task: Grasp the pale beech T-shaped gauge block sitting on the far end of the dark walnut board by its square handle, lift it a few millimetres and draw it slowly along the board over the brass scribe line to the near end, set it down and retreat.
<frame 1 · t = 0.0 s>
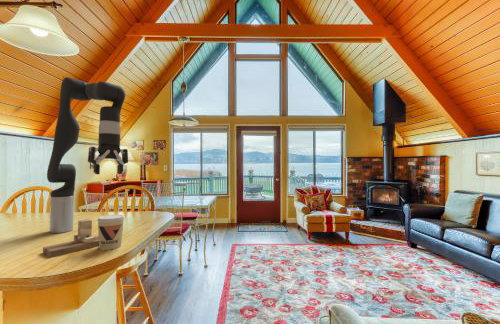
hand: (108, 174, 97), 29 cm above the table, fingers open, 8 cm apart
board: (78, 247, 97), on the table
gauge: (84, 239, 100), point 2 cm above the table, touching board
coffee cup: (110, 247, 98), on the table
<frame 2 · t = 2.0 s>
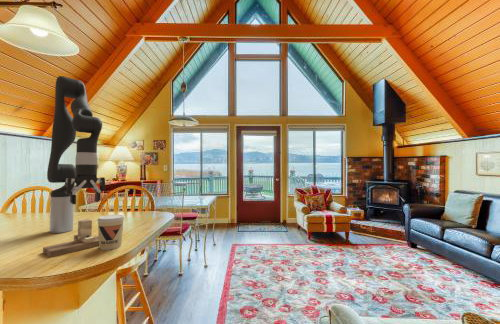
hand: (85, 202, 101), 17 cm above the table, fingers open, 8 cm apart
nothing on the table moved.
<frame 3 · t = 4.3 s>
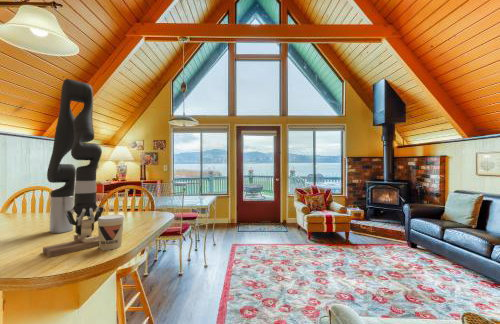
hand: (84, 233, 101), 5 cm above the table, fingers closed on gauge, 3 cm apart
gauge: (84, 239, 100), point 2 cm above the table, touching board, gripper
everything else where it was.
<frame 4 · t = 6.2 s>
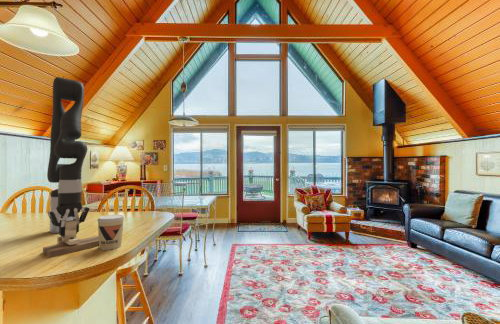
hand: (68, 234, 96), 5 cm above the table, fingers closed on gauge, 3 cm apart
gauge: (68, 241, 96), point 3 cm above the table, touching gripper
everything else where it was.
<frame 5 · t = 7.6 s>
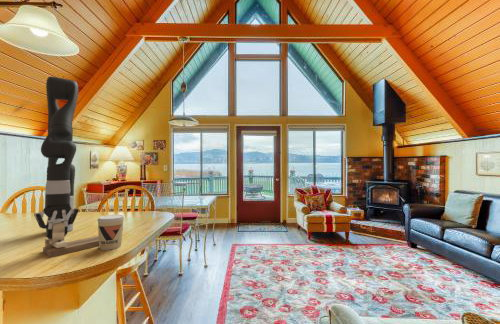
hand: (56, 237, 93), 5 cm above the table, fingers closed on gauge, 3 cm apart
gauge: (56, 244, 93), point 2 cm above the table, touching gripper
everything else where it was.
when the fingers open (5 cm above the table, at t = 8.5 s): gauge stays where it is, resting on board.
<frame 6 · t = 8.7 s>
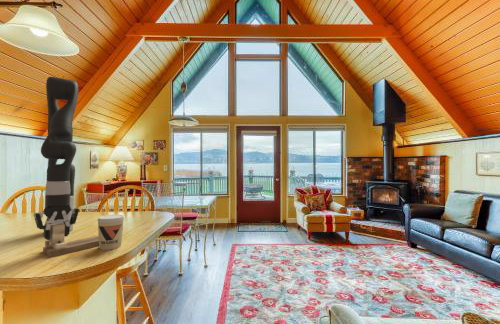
hand: (56, 237, 93), 5 cm above the table, fingers open, 5 cm apart
gauge: (56, 245, 93), point 2 cm above the table, touching board
everything else where it was.
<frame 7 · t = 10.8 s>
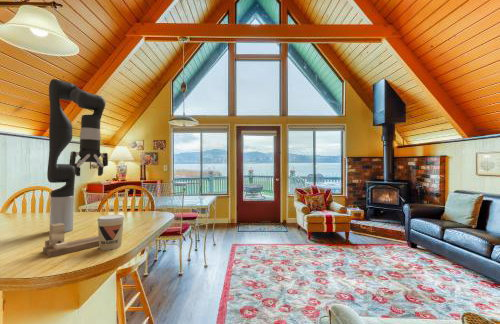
hand: (89, 175, 107), 28 cm above the table, fingers open, 8 cm apart
nothing on the table moved.
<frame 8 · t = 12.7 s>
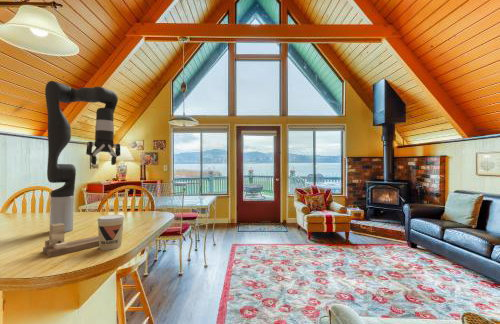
hand: (103, 164, 115), 33 cm above the table, fingers open, 8 cm apart
nothing on the table moved.
at the end: gauge 0.3 cm from the target spot, point 2.0 cm above the table; gauge tilted 0°; the gripper is holding nothing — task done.
